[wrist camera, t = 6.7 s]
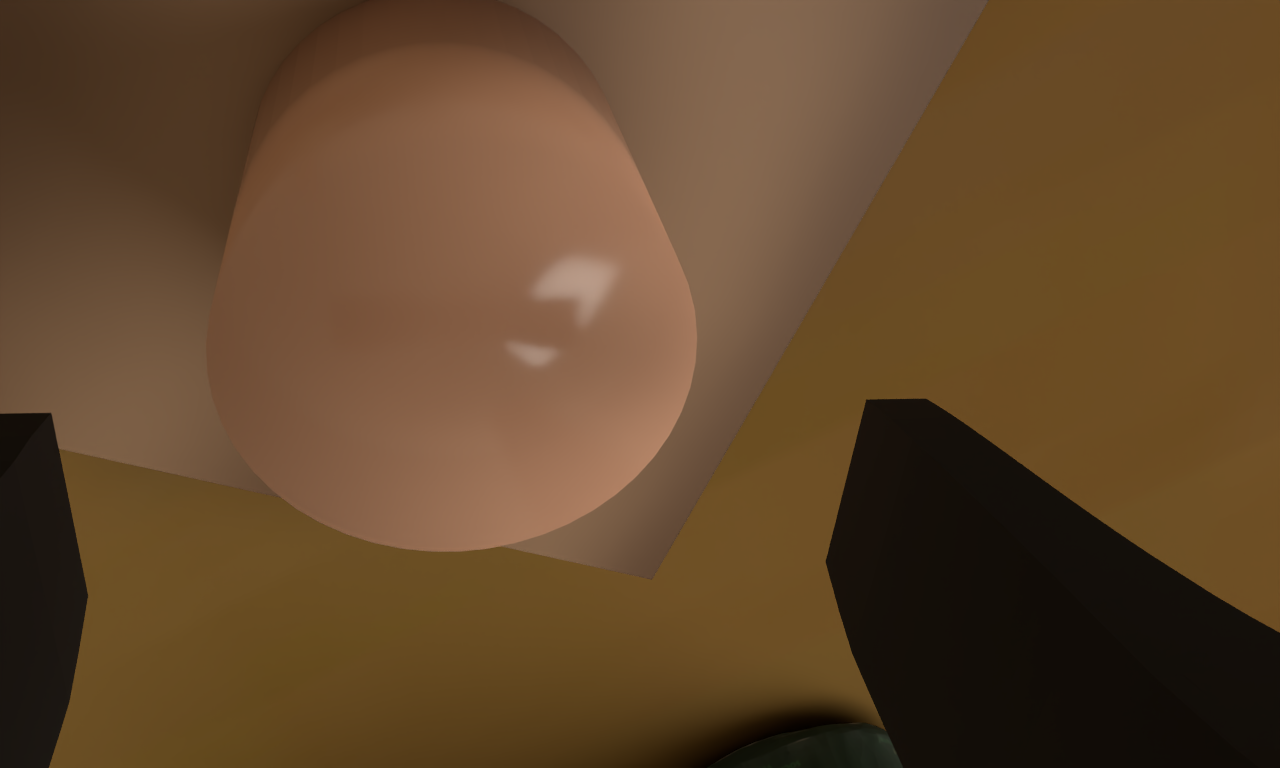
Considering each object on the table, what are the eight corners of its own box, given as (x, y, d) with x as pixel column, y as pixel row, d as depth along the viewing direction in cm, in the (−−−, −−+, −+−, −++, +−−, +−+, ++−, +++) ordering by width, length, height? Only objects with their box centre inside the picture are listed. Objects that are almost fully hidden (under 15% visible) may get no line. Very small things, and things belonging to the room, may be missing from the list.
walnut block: (914, -121, 19) (1024, -61, 16) (615, 447, 25) (651, 579, 21) (141, -519, 15) (76, -548, 12) (-21, 279, 20) (-97, 414, 17)
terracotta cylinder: (634, -2, 16) (726, 143, 11) (605, 328, 18) (671, 541, 14) (233, -20, 15) (177, 132, 10) (265, 332, 17) (230, 563, 13)
